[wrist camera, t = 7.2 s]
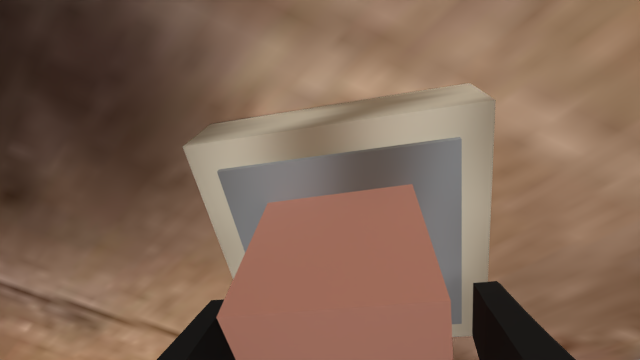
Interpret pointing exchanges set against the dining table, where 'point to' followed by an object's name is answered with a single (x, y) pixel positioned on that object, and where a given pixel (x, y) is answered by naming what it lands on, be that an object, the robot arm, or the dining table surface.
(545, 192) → the dining table surface
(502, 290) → the robot arm
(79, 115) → the dining table surface
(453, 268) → the base
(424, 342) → the block
